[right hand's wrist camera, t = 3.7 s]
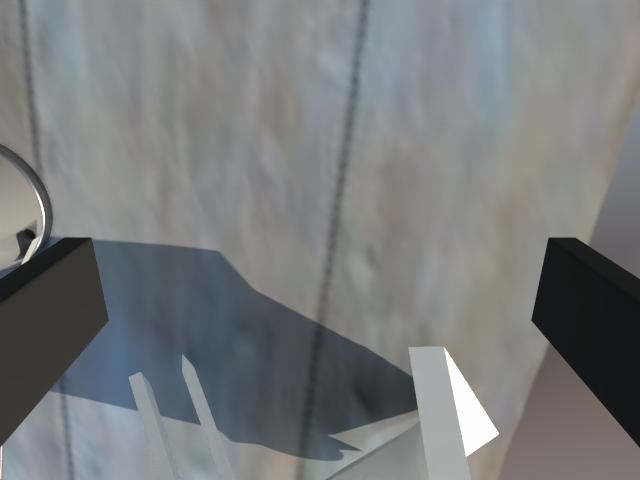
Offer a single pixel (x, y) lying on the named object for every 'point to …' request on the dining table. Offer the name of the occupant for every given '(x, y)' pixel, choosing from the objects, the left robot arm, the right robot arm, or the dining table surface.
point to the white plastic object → (381, 463)
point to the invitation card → (0, 460)
